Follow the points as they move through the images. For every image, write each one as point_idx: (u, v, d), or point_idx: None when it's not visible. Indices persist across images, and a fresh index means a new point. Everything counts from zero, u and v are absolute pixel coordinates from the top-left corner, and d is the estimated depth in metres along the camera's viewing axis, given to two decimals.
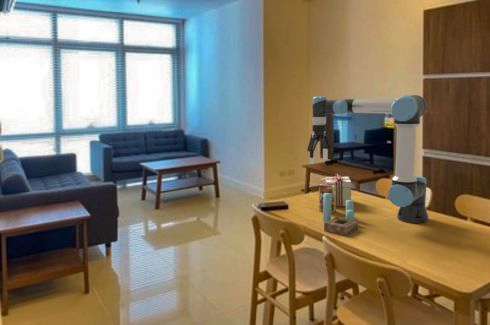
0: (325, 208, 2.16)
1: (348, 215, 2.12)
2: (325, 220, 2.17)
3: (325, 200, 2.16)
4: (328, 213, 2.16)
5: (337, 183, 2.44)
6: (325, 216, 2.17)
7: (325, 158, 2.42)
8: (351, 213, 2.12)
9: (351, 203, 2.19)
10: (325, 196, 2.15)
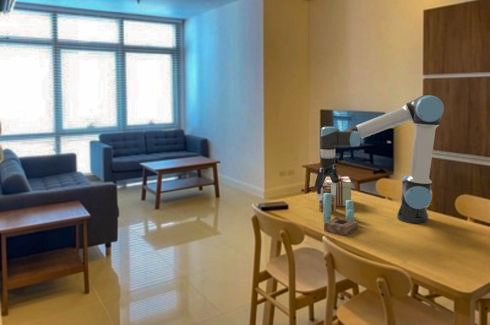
0: (325, 208, 2.16)
1: (348, 215, 2.12)
2: (325, 220, 2.17)
3: (325, 200, 2.16)
4: (328, 213, 2.16)
5: (337, 183, 2.44)
6: (325, 216, 2.17)
7: (333, 193, 2.21)
8: (351, 213, 2.12)
9: (351, 203, 2.19)
10: (325, 196, 2.15)
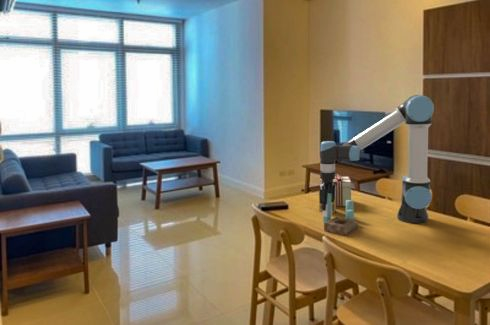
0: None
1: (348, 215, 2.12)
2: (325, 220, 2.17)
3: None
4: (328, 213, 2.16)
5: (337, 183, 2.44)
6: None
7: None
8: (351, 213, 2.12)
9: (351, 203, 2.19)
10: None
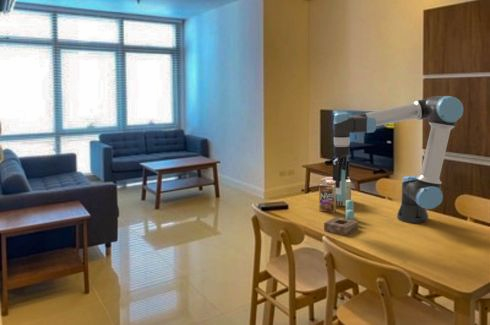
0: None
1: (348, 215, 2.12)
2: (338, 198, 2.02)
3: None
4: (341, 191, 2.01)
5: None
6: None
7: None
8: (351, 213, 2.12)
9: (351, 203, 2.19)
10: None
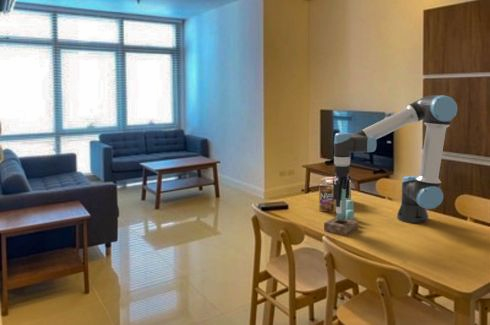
0: None
1: (348, 215, 2.12)
2: (339, 217, 2.03)
3: None
4: (342, 210, 2.02)
5: None
6: (339, 213, 2.03)
7: None
8: (351, 213, 2.12)
9: (351, 203, 2.19)
10: None
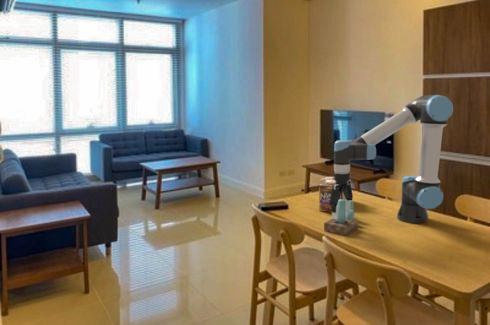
0: (339, 215, 2.03)
1: (348, 215, 2.12)
2: None
3: (339, 207, 2.03)
4: (342, 221, 2.03)
5: None
6: None
7: (347, 211, 2.09)
8: (351, 213, 2.12)
9: (351, 203, 2.19)
10: (339, 203, 2.02)
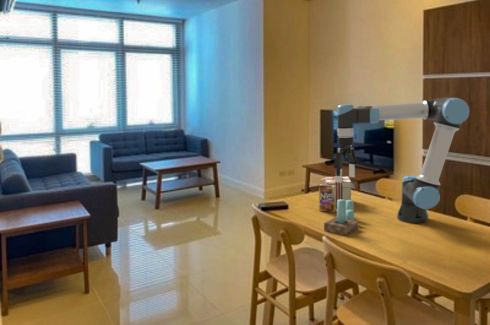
0: (339, 215, 2.03)
1: (348, 215, 2.12)
2: None
3: (339, 207, 2.03)
4: (342, 221, 2.03)
5: (337, 183, 2.44)
6: None
7: (352, 175, 2.10)
8: (351, 213, 2.12)
9: (351, 203, 2.19)
10: (339, 203, 2.02)
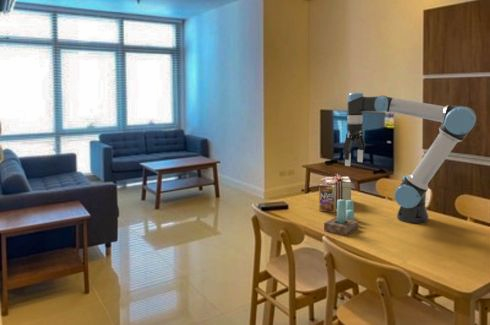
0: (339, 215, 2.03)
1: (348, 215, 2.12)
2: None
3: (339, 207, 2.03)
4: (342, 221, 2.03)
5: (337, 183, 2.44)
6: None
7: (360, 160, 2.22)
8: (351, 213, 2.12)
9: (351, 203, 2.19)
10: (339, 203, 2.02)
